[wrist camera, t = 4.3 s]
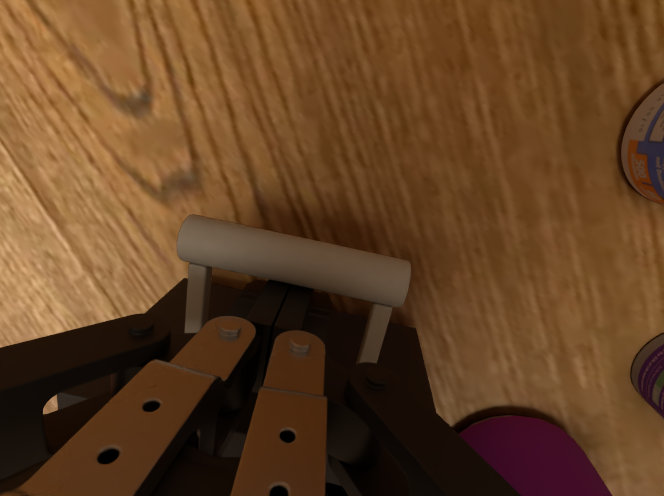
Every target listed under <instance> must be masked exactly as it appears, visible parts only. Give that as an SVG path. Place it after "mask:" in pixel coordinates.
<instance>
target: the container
mask: <svg viewBox="0 0 664 496" xmlns="http://www.w3.org/2000/svg"><path fill="white" fill-rule="evenodd" d="M631 378H632V383H633V385H634V387H635V389H636V391H637V392H638V393H639V394H640V395H641V396H642V397H643V398H644V399H645V400H646V401H647V402H648V403H649V404H650V405H651V406H652V408H653V409H654V410H655V411H656V412H657V413H658V414H659V415H660V416H661V417H662V418H663V419H664V334H662V335H661V336H659V337H657V338H655V339H654V340H652V341H651V342H650V343H648V344H647V345H646V346H645V347H644V348H643V349H642V350H641V352H640V353H639V354H638V356H637V357H636V359H635V361H634V364H633V366H632V372H631Z"/></svg>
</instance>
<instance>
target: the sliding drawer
mask: <svg viewBox="0 0 664 496" xmlns="http://www.w3.org/2000/svg"><path fill="white" fill-rule="evenodd" d="M177 254H178V257H179V258H180V259H181V260H183V261H187V262H191V263H190V264H189V270H188V279H187V278H184V279H183V280H181V281H180V282H179V283H178V284H177V285H176V286H175V287H174V288H173V289H171V290H170V291H169V292H168V293H167V294H166V295H165V296H164V297H162V298H161V299H160V300H159V301H158V302H157V303H156V304H155V305H154V306H152V307H151V308H150V309H149V310H148V311H147V312H146V313H145V314H155V315H159V316H162V317H164V318H166V319H167V320H168V321H169V322H170V324H171V333H197V332H198V331H199V330H200V329H201V328H202V327H203V326H204V325H205V324H206V323H207V322H208V321H210V320H212V319H214V318H217V317H222V316H225V315H226V314H227V312H228V311H229V309H230V308H231V307H232V305H233V304H234V302H235V301H236V299H238V297H239V295H240V294H241V293H242V290H237V289H233V288H228V287H224V286H219V285H214V284H211V278H212V267H214V268H219V269H224V270H228V271H233V272H237V273H242V274H247V275H251V276H256V277H260V278H265V279H270V280H274V281H279V282H284V283H288V284H293V285H297V286H302V287H307V288H311V289H316V290H320V291H325V292H330V293H334V294H339V295H344V296H348V297H353V298H357V299H362V300H367V301H371V302H372V306H371V309H370V313H369V317H368V318H366V317H362V316H357V315H353V314H348V313H343V312H339V311H334V310H331V314H330V320H329V326H328V332H327V338H326V343H325V348H326V351H327V353H328V355H329V356H330V357H331V359H333V360H334V361H335V362H336V363H338V364H339V365H341V366H343V367H345V368H347V369H351V368H352V367H353V366H354V365H356V364H358V363H362V362H372V363H377V364H380V365H383V366H385V367H387V368H389V369H390V370H392V371H393V372H394V373H396V374H397V375H398V376H399V377H400V378H401V379H402V380H403V381H404V382H405V383H406V384H407V385H408V386H409V387H410V388H411V389H412V390H413V391H414V392H415V393H416V394H417V395H418V396H419V397H420V398H421V399H422V400H423V401H424V402H425V403H427V404H428V405H429V406H430V407H431V408H432V409H433V410H434V411H435V412H436V409H435V405H434V401H433V397H432V393H431V389H430V384H429V380H428V376H427V372H426V368H425V364H424V360H423V355H422V351H421V347H420V343H419V339H418V335H417V330H416V328H412V327H408V326H403V325H399V324H394V323H389V319H390V315H391V312H392V306H394V307H401V306H402V305H403V303H404V301H405V299H406V296H407V293H408V289H409V284H410V278H411V264H410V261H408V260H404V259H399V258H395V257H390V256H385V255H381V254H376V253H371V252H367V251H362V250H357V249H353V248H348V247H344V246H339V245H334V244H330V243H325V242H320V241H316V240H311V239H306V238H302V237H297V236H292V235H288V234H283V233H278V232H274V231H269V230H264V229H260V228H255V227H250V226H246V225H241V224H236V223H232V222H227V221H223V220H218V219H213V218H209V217H204V216H199V215H195V214H192V215H189V216H188V217H187V218H186V219H185V220H184V222H183V224H182V226H181V228H180V231H179V234H178V239H177ZM110 390H111V375H109V376H106V377H103V378H100V379H97V380H95V381H92V382H89V383H86V384H83V385H80V386H77V387H74V388H72V389H69V390H66V391H63V392H61V393H58V394H57V401H58V410H60V409H62V408H65V407H68V406H70V405H73V404H76V403H78V402H81V401H84V400H86V399H89V398H92V397H94V396H97V395H100V394H102V393H105V392H108V391H110ZM257 397H258V393H255V392H251V393H250V396H249V398H248V400H247V402H246V404H245V410H244V414H243V416H242V418H241V420H240V422H239V424H238V426H237V428H236V430H235V432H234V434H233V436H232V438H231V439H230V441H229V443H228V445H227V447H226V449H225V451H224V453H223V455H222V457H241V455H242V451H243V448H244V444H245V440H246V437H247V433H248V430H249V426H250V422H251V419H252V415H253V411H254V408H255V404H256V400H257ZM384 449H385V448H384ZM385 450H386V449H385ZM386 451H387V450H386ZM387 453H388V454H389V452H388V451H387ZM389 455H390V454H389ZM390 456H391V455H390ZM391 457H392V456H391ZM392 459H393V457H392ZM393 460H394V459H393ZM394 461H395V460H394ZM395 462H396V461H395ZM396 464H397V462H396ZM397 465H398V464H397ZM398 466H399V465H398ZM399 467H400V466H399ZM400 469H401V467H400ZM401 470H402V469H401ZM402 471H403V470H402ZM325 493H327V494H328V495H329V496H348V495H347V493H346V491H345V490H344V488H343V487H342V485H341V484H340V482H339V480H338V479H337V477H336V476H335V474H334V473H333V471H332V469H331V467H330V465H329V462H328V453H326V475H325Z"/></svg>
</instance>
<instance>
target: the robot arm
mask: <svg viewBox="0 0 664 496" xmlns="http://www.w3.org/2000/svg"><path fill="white" fill-rule="evenodd" d="M331 308H332V301H331V299H330V297H329V295H328V294H324V293H320V292H315V291H314V289H311V288H307V287H302V286H297V285H293V284H288V283H284V282H279V281H274V280H270V279H269V280H268V281H264V280H259V279H257V280H255V281H253V282H251V283H249V284H247V285H246V287H245V288H244V290H243V291H242V293H241V294H240V295H239V297H238V299H236V301H235V302H234V304H233V305H232V307H231V308H230V309H229V311H228V312H227V314H226V315H225V316H222V317H217V318H214V319H212V320H210V321H208V322H207V323H206V324H205V325H204V326H203V327H202V328H201V329H200V330H199V331H198V332H197V333H171V324H170V322H169V321H168V320H167V319H166V318H164V317H162V316H159V315H155V314H134V315H130V316H126V317H122V318H118V319H114V320H110V321H106V322H102V323H98V324H94V325H90V326H86V327H82V328H78V329H74V330H70V331H66V332H62V333H58V334H54V335H50V336H46V337H42V338H38V339H34V340H30V341H26V342H22V343H18V344H14V345H10V346H6V347H2V348H0V496H329V495H328V494H327V493H325V475H326V453H328V462H329V465H330V467H331V469H332V471H333V473H334V474H335V476H336V477H337V479H338V480H339V482H340V484H341V485H342V487H343V488H344V490H345V491H346V493H347V495H348V496H521V495H520V494H519V493H518V492H517V491H516V490H515V489H514V488H513V487H512V486H511V485H510V484H509V483H508V482H507V481H506V480H505V479H504V478H503V477H502V476H501V475H500V474H499V473H498V472H497V471H496V470H495V469H494V468H493V467H491V466H490V465H489V464H488V463H487V462H486V461H485V460H484V459H483V458H482V457H481V456H480V455H479V454H478V453H477V452H476V451H475V450H474V449H473V448H472V447H471V446H470V445H469V444H468V443H467V442H466V441H465V440H464V439H463V438H462V437H461V436H460V435H458V434H457V433H456V432H455V431H454V430H453V429H452V428H451V427H450V426H449V425H448V424H447V423H446V422H445V421H444V420H443V419H442V418H441V417H440V416H439V415H438V414H437V413H436V412H435V411H434V410H433V409H432V408H431V407H430V406H429V405H428V404H427V403H425V402H424V401H423V400H422V399H421V398H420V397H419V396H418V395H417V394H416V393H415V392H414V391H413V390H412V389H411V388H410V387H409V386H408V385H407V384H406V383H405V382H404V381H403V380H402V379H401V378H400V377H399V376H398V375H397V374H396V373H394V372H393V371H392V370H390V369H389V368H387V367H385V366H383V365H380V364H377V363H372V362H362V363H358V364H356V365H354V366H353V367H352V368H351V369H347V368H345V367H343V366H341V365H339V364H338V363H336V362H335V361H334V360H333V359H331V357H330V356H329V355H328V353H327V351H326V348H325V343H326V338H327V332H328V326H329V320H330V314H331ZM109 375H111V390H110V391H108V392H105V393H102V394H100V395H97V396H94V397H92V398H89V399H86V400H84V401H81V402H78V403H76V404H73V405H70V406H68V407H65V408H62V409H60V410H57V411H54V412H52V413H49V414H43V408H44V406H45V404H46V403H47V402H48V401H49V400H50V399H51V398H52V397H53V396H55V395H56V394H58V393H61V392H63V391H66V390H69V389H72V388H74V387H77V386H80V385H83V384H86V383H89V382H92V381H95V380H97V379H100V378H103V377H106V376H109ZM251 392H255V393H258V397H257V400H256V404H255V408H254V411H253V415H252V419H251V422H250V426H249V430H248V433H247V437H246V440H245V444H244V448H243V451H242V455H241V457H222V455H223V453H224V451H225V449H226V447H227V445H228V443H229V441H230V439H231V438H232V436H233V434H234V432H235V430H236V428H237V426H238V424H239V422H240V420H241V418H242V416H243V414H244V410H245V404H246V402H247V400H248V398H249V396H250V393H251ZM384 448H385V449H386V450H387V451H388V452H389V454H390V455H391V456H392V457H393V459H394V460H395V461H396V462H397V464H398V465H399V466H400V467H401V469H402V470H403V471H402V470H401V469H400V467H399V466H398V465H397V464H396V462H395V461H394V460H393V459H392V457H391V456H390V455H389V454H388V453H387V451H386V450H385V449H384Z"/></svg>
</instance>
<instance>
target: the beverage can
mask: <svg viewBox="0 0 664 496" xmlns="http://www.w3.org/2000/svg"><path fill="white" fill-rule="evenodd" d="M458 435H460V436H461V437H462V438H463V439H464V440H465V441H466V442H467V443H468V444H469V445H470V446H471V447H472V448H473V449H474V450H475V451H476V452H477V453H478V454H479V455H480V456H481V457H482V458H483V459H484V460H485V461H486V462H487V463H488V464H489V465H490V466H491V467H493V468H494V469H495V470H496V471H497V472H498V473H499V474H500V475H501V476H502V477H503V478H504V479H505V480H506V481H507V482H508V483H509V484H510V485H511V486H512V487H513V488H514V489H515V490H516V491H517V492H518V493H519V494H520V495H521V496H612V494H611V493H610V491H609V490H608V488H607V487H606V485H605V484H604V482H603V481H602V479H601V477H600V476H599V474H598V473H597V471H596V470H595V468H594V467H593V465H592V464H591V462H590V461H589V459H588V458H587V456H586V454H585V453H584V451H583V450H582V449H581V448H580V446H579V445H578V444H577V443H576V442H575V440H574V439H573V438H571V437H570V436H569V435H568V434H567V433H566V432H564V431H563V430H562V429H561V428H560V427H558V426H556V425H553V424H551V423H548V422H546V421H544V420H541V419H538V418H531V417H523V416H513V415H504V416H495V417H489V418H486V419H484V420H481V421H478V422H475V423H473V424H472V425H470V426H469V427H468V428H466V429H465V430H463V431H462V432H461V433H460V434H458Z"/></svg>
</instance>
